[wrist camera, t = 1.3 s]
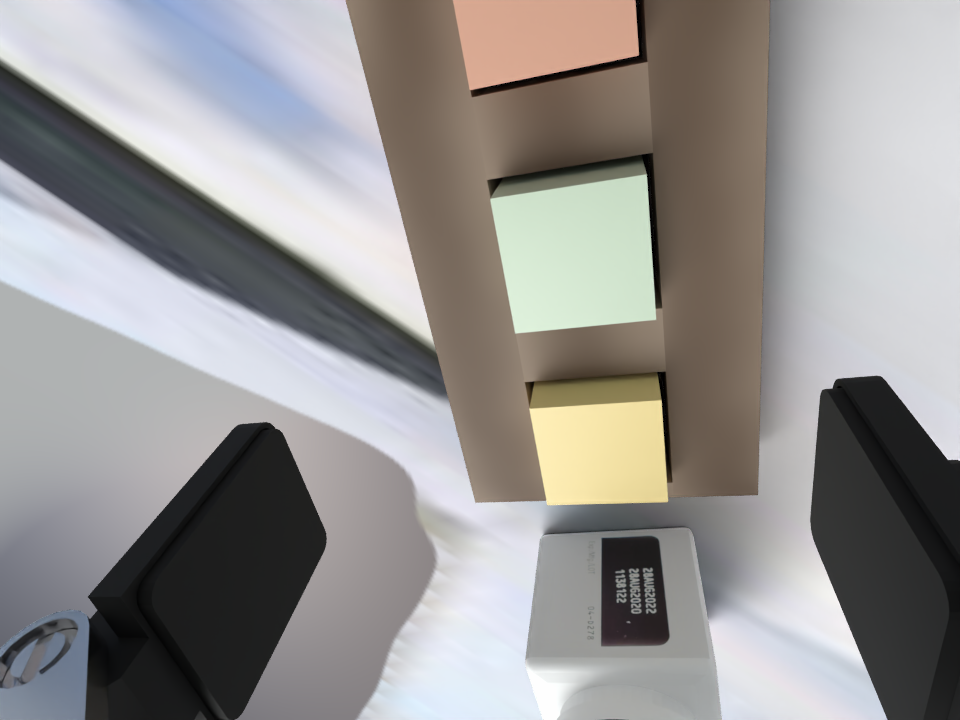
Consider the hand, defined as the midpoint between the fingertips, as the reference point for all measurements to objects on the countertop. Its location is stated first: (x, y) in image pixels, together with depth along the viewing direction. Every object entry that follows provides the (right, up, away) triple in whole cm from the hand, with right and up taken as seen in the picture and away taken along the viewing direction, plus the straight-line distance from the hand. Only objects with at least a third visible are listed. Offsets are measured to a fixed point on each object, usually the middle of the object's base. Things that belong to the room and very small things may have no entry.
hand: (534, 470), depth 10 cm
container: (+7, -10, +22) cm, 25 cm away
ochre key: (+4, 0, +15) cm, 16 cm away
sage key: (+3, +7, +11) cm, 14 cm away
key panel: (+3, +7, +13) cm, 15 cm away
